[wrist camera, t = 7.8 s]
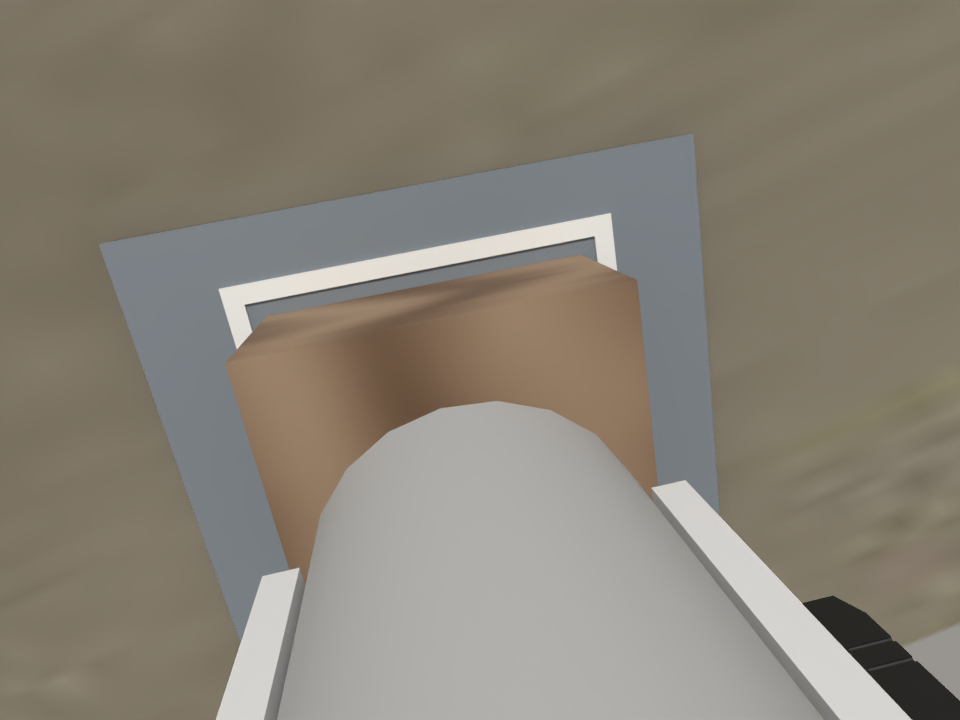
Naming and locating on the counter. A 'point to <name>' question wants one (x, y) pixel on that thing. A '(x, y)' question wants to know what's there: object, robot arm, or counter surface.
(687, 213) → the grey flat plate
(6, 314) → the counter surface
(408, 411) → the walnut block
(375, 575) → the can
